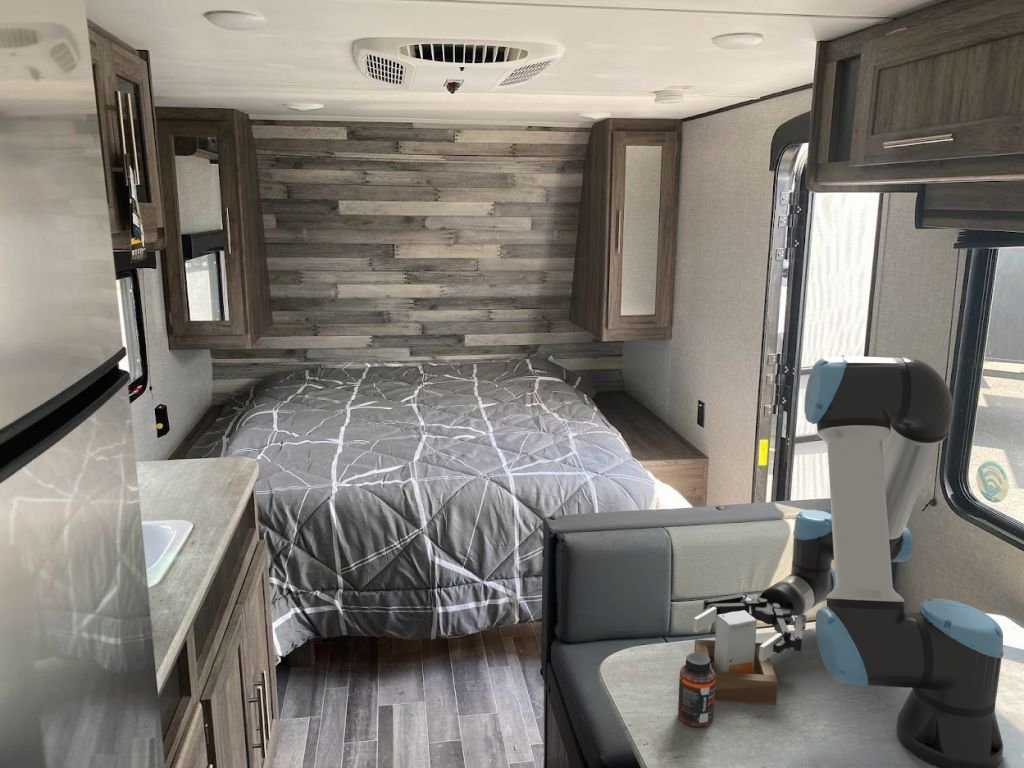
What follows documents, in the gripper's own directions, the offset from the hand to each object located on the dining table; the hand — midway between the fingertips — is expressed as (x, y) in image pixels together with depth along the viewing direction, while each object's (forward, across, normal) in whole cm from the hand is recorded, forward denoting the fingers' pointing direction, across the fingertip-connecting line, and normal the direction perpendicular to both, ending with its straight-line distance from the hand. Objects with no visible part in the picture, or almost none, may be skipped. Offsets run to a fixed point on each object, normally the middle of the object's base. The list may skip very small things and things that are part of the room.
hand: (726, 639), depth 142 cm
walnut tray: (-3, 0, -10) cm, 10 cm away
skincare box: (-3, 0, -9) cm, 9 cm away
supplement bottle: (+11, -2, -10) cm, 15 cm away
